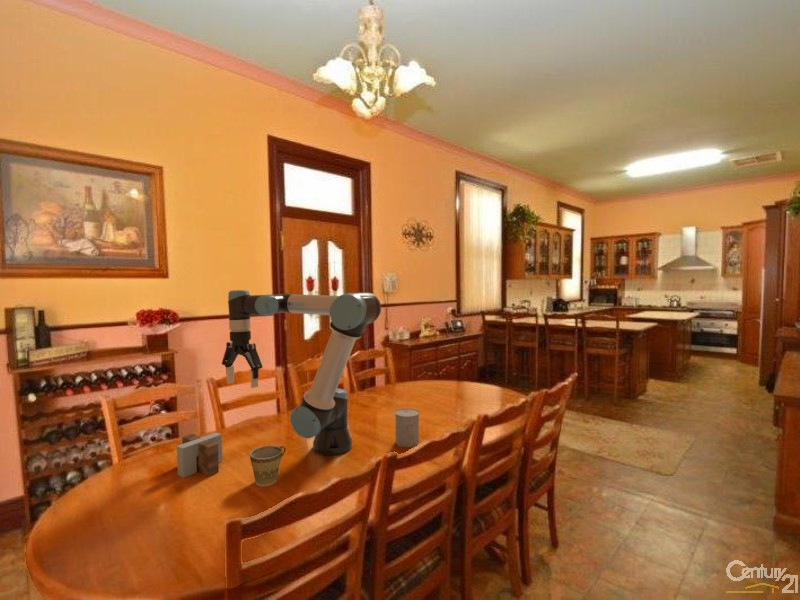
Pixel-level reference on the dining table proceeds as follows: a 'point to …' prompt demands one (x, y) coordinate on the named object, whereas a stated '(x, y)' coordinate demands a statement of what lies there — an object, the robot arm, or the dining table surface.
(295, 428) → the robot arm
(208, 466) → the walnut upright
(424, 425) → the dining table surface
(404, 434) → the grey cylinder
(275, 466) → the ceramic cup
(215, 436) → the grey arch block
